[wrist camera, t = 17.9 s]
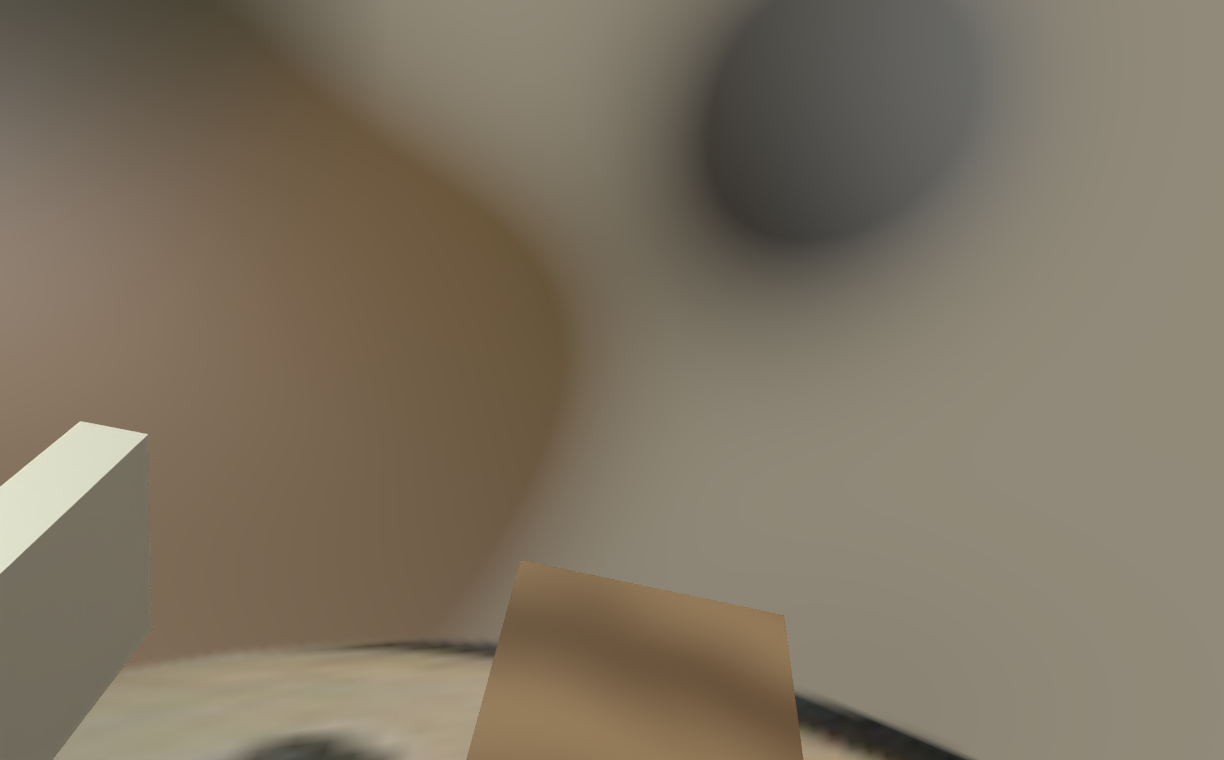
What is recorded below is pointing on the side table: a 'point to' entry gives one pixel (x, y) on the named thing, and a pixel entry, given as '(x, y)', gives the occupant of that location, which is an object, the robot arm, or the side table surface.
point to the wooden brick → (634, 676)
